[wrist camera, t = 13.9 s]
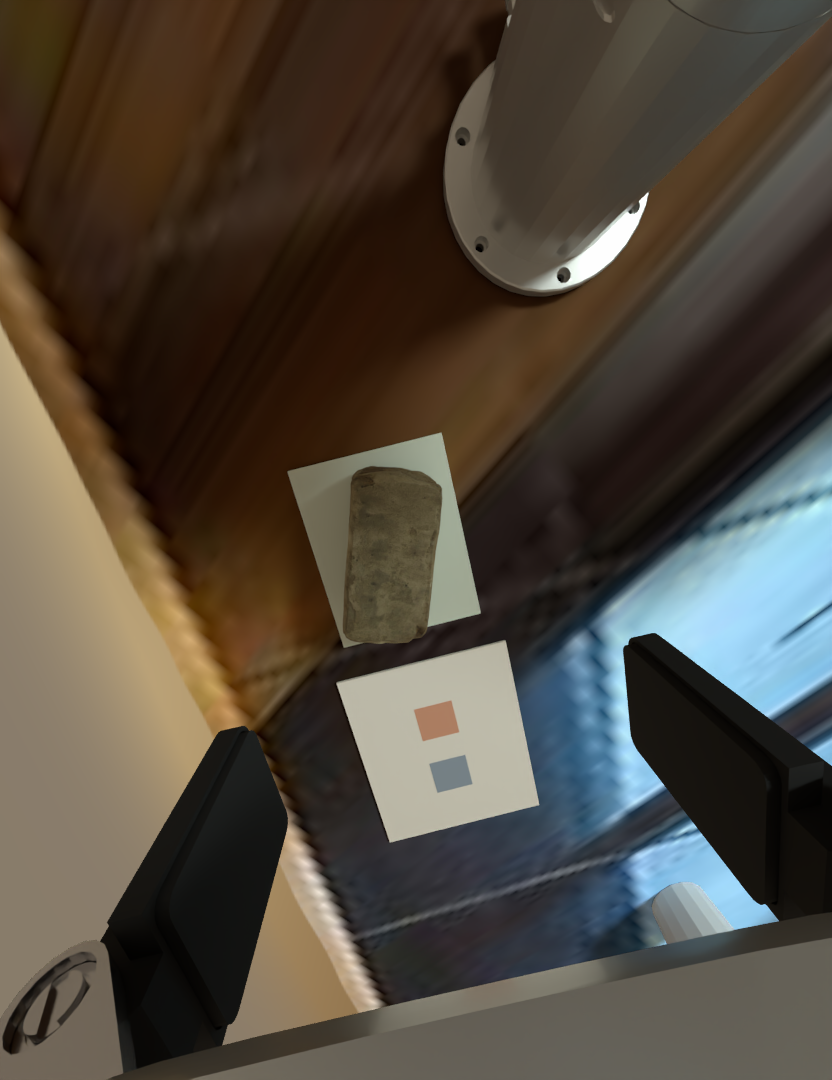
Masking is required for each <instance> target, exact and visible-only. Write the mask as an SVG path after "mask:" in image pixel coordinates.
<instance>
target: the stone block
mask: <svg viewBox="0 0 832 1080" xmlns="http://www.w3.org/2000/svg"><path fill="white" fill-rule="evenodd" d="M442 499H443V498H442V488H441V486H440V485H439V484H437V483H436V481H434V480H433V479H432V478H431V477H430V476H428V475H426V474H425V473H423V472H421V471H411V470H408V469H404V468H398V467H377V466H369V467H365V468H363V469H360V470H358V471H357V472H355V473H354V474H353V476H352V481H351V495H350V515H349V529H348V547H347V558H346V570H345V585H344V610H343V633H344V634H345V636H346V638H348V639H349V640H351V641H354V642H360V643H368V642H370V643H376V644H382V643H406V642H410V641H411V640H412V639H414V638H421V637H422V636H423V635H424V634H425V633H426V631H427V626H428V619H429V611H430V602H431V593H432V583H433V572H434V563H435V553H436V547H437V542H438V536H439V530H440V521H441V508H442Z"/></svg>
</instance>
